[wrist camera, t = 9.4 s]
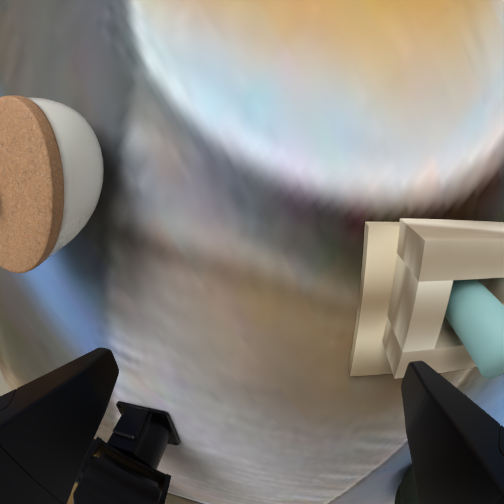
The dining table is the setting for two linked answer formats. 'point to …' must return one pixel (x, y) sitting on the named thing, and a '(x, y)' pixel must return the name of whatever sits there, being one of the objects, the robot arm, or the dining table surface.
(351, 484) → the dining table surface
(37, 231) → the lidded jar
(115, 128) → the dining table surface
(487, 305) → the peg
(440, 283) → the socket board
